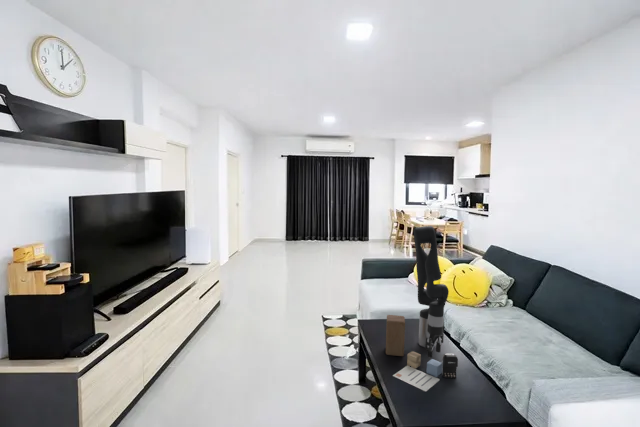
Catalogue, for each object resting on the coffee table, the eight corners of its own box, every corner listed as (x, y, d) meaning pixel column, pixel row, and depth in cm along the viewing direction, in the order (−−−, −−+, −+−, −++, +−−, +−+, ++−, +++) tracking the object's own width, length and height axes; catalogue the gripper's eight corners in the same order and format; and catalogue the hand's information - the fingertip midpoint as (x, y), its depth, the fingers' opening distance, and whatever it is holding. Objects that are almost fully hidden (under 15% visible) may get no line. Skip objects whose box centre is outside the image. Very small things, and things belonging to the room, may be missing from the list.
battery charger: (443, 379, 170) (444, 356, 169) (441, 374, 174) (442, 353, 173) (458, 379, 170) (459, 357, 168) (455, 375, 173) (456, 353, 172)
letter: (407, 365, 182) (407, 365, 182) (439, 379, 169) (439, 379, 169) (392, 375, 172) (392, 375, 172) (425, 391, 159) (425, 391, 159)
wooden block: (403, 357, 191) (405, 322, 189) (385, 355, 192) (386, 320, 191) (403, 348, 200) (404, 315, 199) (385, 347, 202) (386, 313, 201)
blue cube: (431, 368, 179) (432, 358, 179) (441, 373, 175) (442, 362, 175) (426, 372, 175) (426, 362, 175) (436, 377, 171) (437, 366, 171)
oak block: (412, 361, 186) (412, 351, 185) (420, 365, 182) (420, 354, 182) (407, 365, 182) (407, 354, 182) (415, 368, 179) (416, 357, 178)
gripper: (435, 317, 181) (433, 347, 182) (421, 324, 171) (420, 356, 172) (449, 322, 175) (447, 352, 177) (435, 329, 165) (434, 362, 167)
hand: (434, 354), depth 174 cm, fingers open, 8 cm apart
